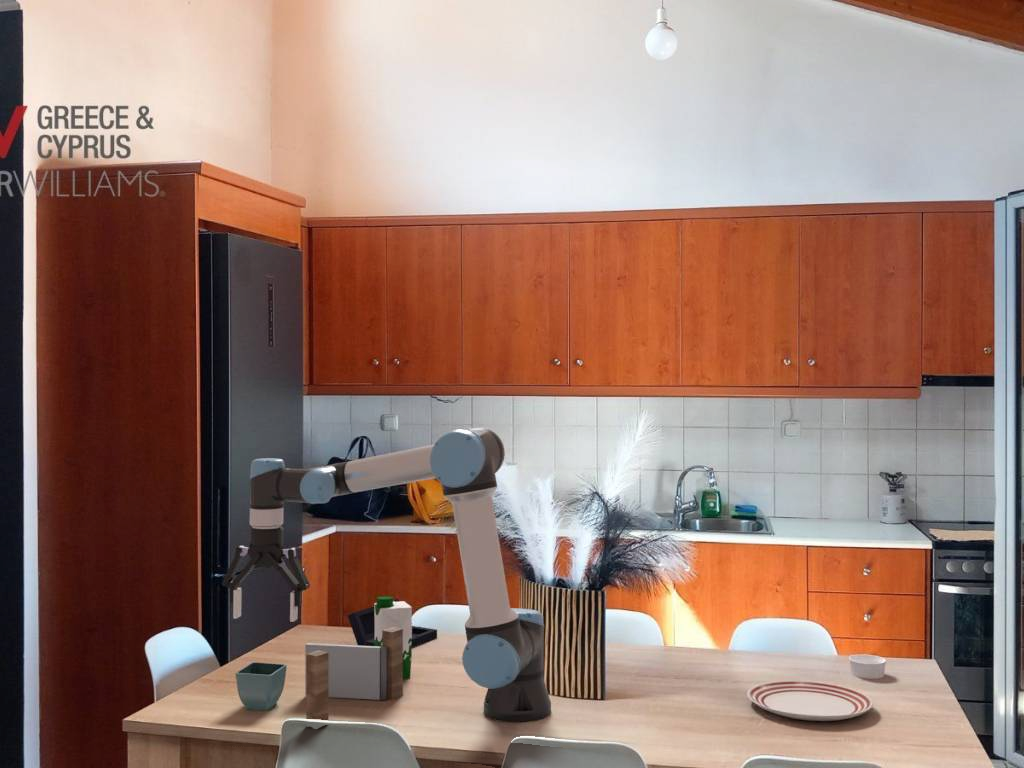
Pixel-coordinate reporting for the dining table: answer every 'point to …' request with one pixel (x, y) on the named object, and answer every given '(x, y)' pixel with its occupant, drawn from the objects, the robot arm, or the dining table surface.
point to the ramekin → (867, 666)
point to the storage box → (365, 629)
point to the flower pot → (260, 684)
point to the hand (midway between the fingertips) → (265, 618)
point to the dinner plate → (810, 700)
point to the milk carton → (395, 625)
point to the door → (354, 670)
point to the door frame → (320, 674)
